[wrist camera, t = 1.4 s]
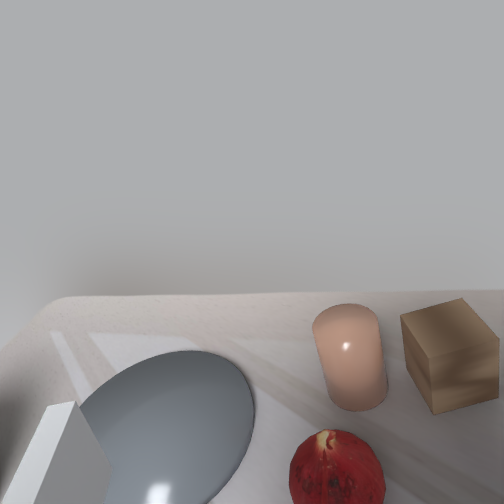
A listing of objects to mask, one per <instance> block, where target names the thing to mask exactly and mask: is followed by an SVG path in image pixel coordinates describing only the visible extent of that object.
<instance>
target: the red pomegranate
mask: <svg viewBox="0 0 504 504" xmlns="http://www.w3.org/2000/svg"><path fill="white" fill-rule="evenodd" d="M289 488H290V493H291V496H292V500H293V503H294V504H383V500H384V496H385V491H386V487H385V481H384V476H383V470H382V468H381V465H380V462H379V461H378V459H377V457H376V456H375V454H374V452H373V450H372V449H371V447H370V446H369V445H368V444H367V443H366V442H364V441H363V440H361V439H360V438H358V437H356V436H355V435H353V434H351V433H349V432H345V431H340V430H329V429H324V430H323V431H321V432H318V433H316V434H314V435H312V436H310V437H309V438H308V439H306V440H305V441H304V442H303V443H302V444H301V445H300V446H299V447H298V449H297V451H296V453H295V455H294V457H293V459H292V461H291V463H290V473H289Z"/></svg>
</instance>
